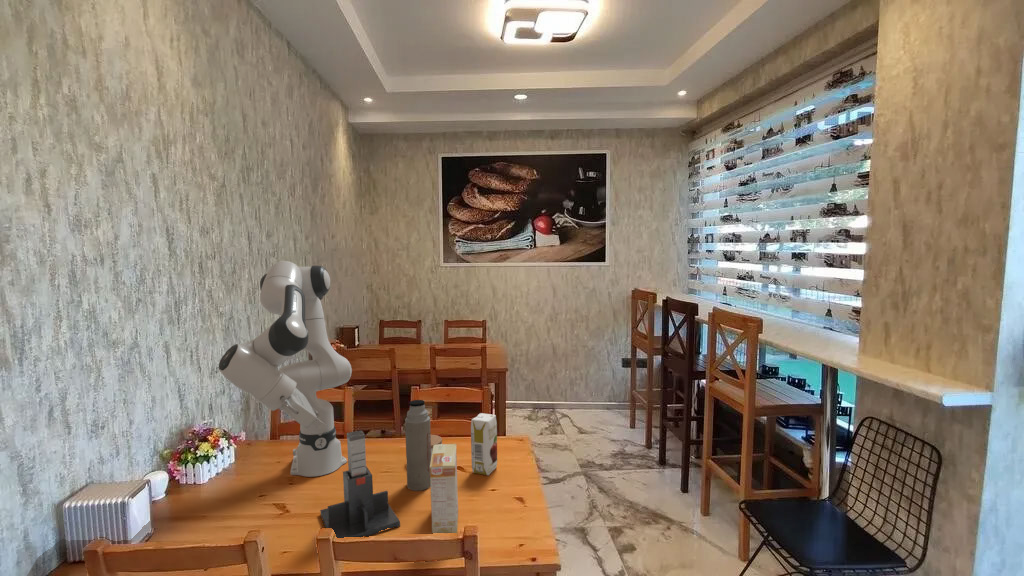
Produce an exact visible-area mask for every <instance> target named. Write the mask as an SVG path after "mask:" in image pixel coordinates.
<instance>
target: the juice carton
mask: <svg viewBox="0 0 1024 576" xmlns="http://www.w3.org/2000/svg"><path fill="white" fill-rule="evenodd" d="M470 422H471V423H470V448H471V453H470V455H471V468H472V469H471V471H472V473H474V474H478V475H483V476H490V474H492V472H493V471H495V469H496V468H497V465H498V429H497V428H498V427H497V426H498V423H497V416H496V414H491V413H490V414H489V413H482V412H479V414H477V416H475V417H473V418H472V419H471V421H470Z"/></svg>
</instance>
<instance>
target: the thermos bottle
mask: <svg viewBox="0 0 1024 576" xmlns="http://www.w3.org/2000/svg"><path fill="white" fill-rule="evenodd" d="M425 402H426V401H425V400H423V399H414V400H410V401H409V402H408V405H409V410H408V411H407V412H406V418H405V419H404V422H405V423H404V428H405V456H406V486H407V488H408V490H411V491H414V492H415V491H416V492H419V491H424V490H425V491H426V490H427V489H429V488H431V484H430V462H431V435H432V434H431V417H430V416H429V412H428V409H426V405H425Z"/></svg>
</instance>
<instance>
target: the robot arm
mask: <svg viewBox="0 0 1024 576" xmlns="http://www.w3.org/2000/svg"><path fill="white" fill-rule="evenodd" d="M330 288H331V277H330V274H329V272H328V270H327V269H326V268H325V267H324V266H322V265H315V264H314V265H312V266H298V265H297V264H296V263H294V262H292V261H289V260H280V261H277V262H276V263H274V264H273V265H272V266H271V267H270V269H269V270H268V272H267V273H265V274H264V275H262V277H261V278H260V281H259V289H260V294H259V298H260V299H259V300H260V304H261V306H262V307H263V308H264V309H265V310H266V311H268V312H269V313H271V314H273V315H279V317H278V318H277V319H276V320H275V321H273V323H272V324H271V325H270V326H269V327H268V328H266V329H265V330H264V331H263V332H261V333H260V334H259V335H257V337H255V338H254V339H252V340H250V341H248V342H246V343H245V342H244V343H242V344H239V343H238V344H237V343H236V344H235V343H234V344H233V345H232V346H230V347H229V348H228V349H227V350H226V351H225V353H224V354H223V356H222V357H221V359H220V360H219V363H218V370H219V373H221V374H222V376H223V377H224V378H225V380H227V381H229V382H230V383H231V384H232V385H234V386H235V387H237V389H239V390H241V391H243V392H245V393H248V394H250V395H251V396H252V397H253V398H254V399H255V400H256V401H258V403H260V404H262V405H263V406H265V407H266V408H267V409H269V410H271V412H272V411H273V412H274V411H277V410H278V409H279V410H280V411H283V412H284V413H285V414H286V415H288V416H289V417H290V418H291V419H293V420H294V421H295V422H297V423H298V424H300V426H299V427H300V428H299V429H300V430H299V432H298V433H299V435H298V439H299V440H298V441H299V443H298V444H297V445H298V446H297V447H296V448H294V449H292V455H293V458H292V462H291V466H290V475H291V476H301V477H309V478H312V477H319V476H325V475H328V474H330V473H333V472H335V471H338V469H339V468H340V467H341V466H343V465H345V464H346V463H348V458H346V457H345V456H343V455H342V453H343V452H342V444H341V440H339V439H338V438H337V437H336V436H337V435H336V433H337V430H336V426H335V422H334V421H335V419H334V418H335V417H334V416H335V414H334V407H333V405H332V404H331V403H330V402H329V401H328V400H325V399H322V398H318V397H317V392H320V391H323V390H324V391H325V390H327V389H332V388H336V387H339V386H341V385H344V384H346V383H348V382H349V380H350V379H351V378H352V377H351V376H352V372H353V369H352V365H351V363H350V361H349V360H348V359H347V358H346V357H344V356H343V355H341V354H340V353H338V352H337V351H336V350H335V348H333V346H332V344H331V342H330V340H329V337H328V333H327V332H328V331H327V328H326V327H327V326H326V321H325V320H326V319H325V315H324V314H325V313H324V309H323V304H322V302H321V300H323V299H324V296H325V295H327V294H328V292H329V291H330ZM301 351H306V352H308V353H309V355H310V356H311V358H312V359H311V360H304V361H299V362H293V363H289V364H287V365H285V366H281V365H283V364H284V363H286V361H288V360H289V359H290V358H292V357H293V356H294V355H296V354H298V353H299V352H301ZM280 366H281V367H280ZM278 367H280V368H279V369H278Z"/></svg>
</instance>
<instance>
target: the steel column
mask: <svg viewBox="0 0 1024 576" xmlns="http://www.w3.org/2000/svg"><path fill="white" fill-rule="evenodd" d="M346 442H347V464H348V465H347V466H348V470H349V477H350V479H353V478H357V477H361V476H365V475H366V466H367V459H366V458H367V457H366V456H367V455H366V434H365V433H364V431H363V430H356V431H352V432H351V431H350V432H347V433H346Z"/></svg>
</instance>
